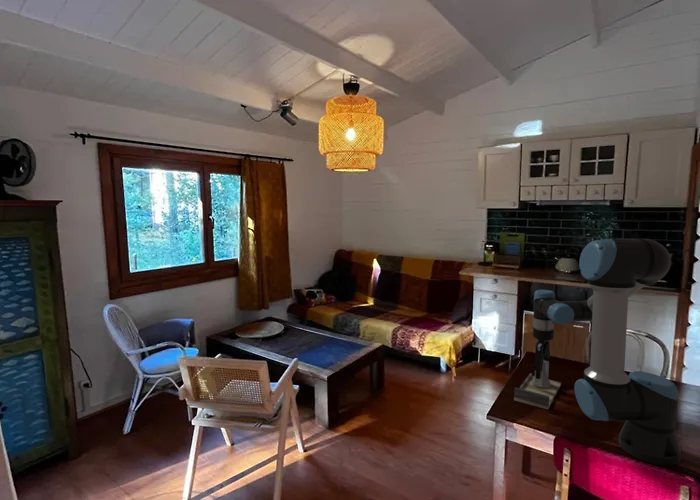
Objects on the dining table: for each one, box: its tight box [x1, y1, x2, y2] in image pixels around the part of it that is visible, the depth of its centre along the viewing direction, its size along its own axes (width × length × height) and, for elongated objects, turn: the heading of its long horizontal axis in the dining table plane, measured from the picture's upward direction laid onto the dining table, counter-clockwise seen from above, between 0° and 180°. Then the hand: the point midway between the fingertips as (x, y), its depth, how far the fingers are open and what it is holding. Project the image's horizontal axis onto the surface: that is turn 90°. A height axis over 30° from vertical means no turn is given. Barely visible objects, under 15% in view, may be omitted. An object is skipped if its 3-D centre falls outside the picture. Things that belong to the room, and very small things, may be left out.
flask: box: [532, 361, 551, 388], centre depth 160 cm, size 7×7×10 cm
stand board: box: [513, 372, 562, 410], centre depth 157 cm, size 24×12×5 cm, turn 142°
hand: (541, 380), depth 161 cm, fingers open, 10 cm apart
